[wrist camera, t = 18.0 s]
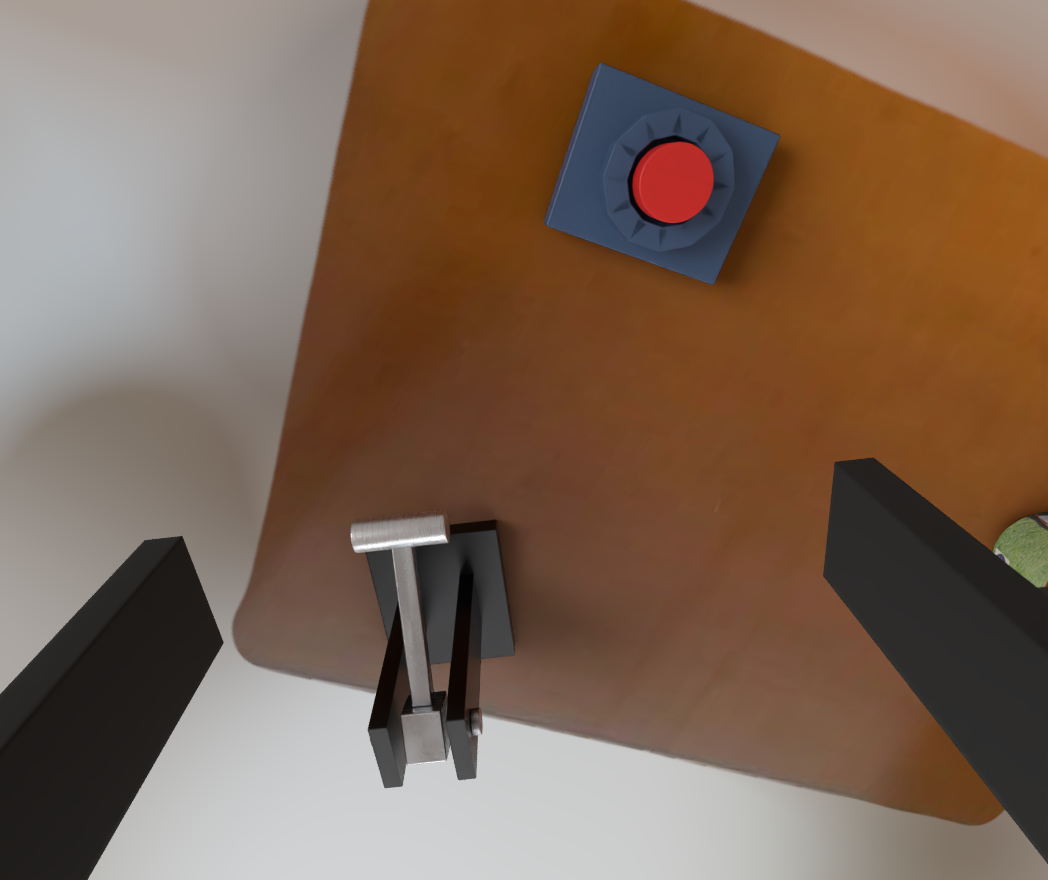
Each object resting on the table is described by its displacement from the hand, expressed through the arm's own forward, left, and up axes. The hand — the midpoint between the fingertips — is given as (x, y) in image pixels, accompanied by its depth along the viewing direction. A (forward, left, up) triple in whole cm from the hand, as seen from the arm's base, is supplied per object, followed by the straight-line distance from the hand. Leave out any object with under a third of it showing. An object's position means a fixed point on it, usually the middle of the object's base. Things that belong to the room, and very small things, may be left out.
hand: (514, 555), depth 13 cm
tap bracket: (+18, -12, -27) cm, 34 cm away
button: (-3, +10, -23) cm, 25 cm away
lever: (+14, -11, -18) cm, 25 cm away
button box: (-3, +10, -27) cm, 29 cm away
